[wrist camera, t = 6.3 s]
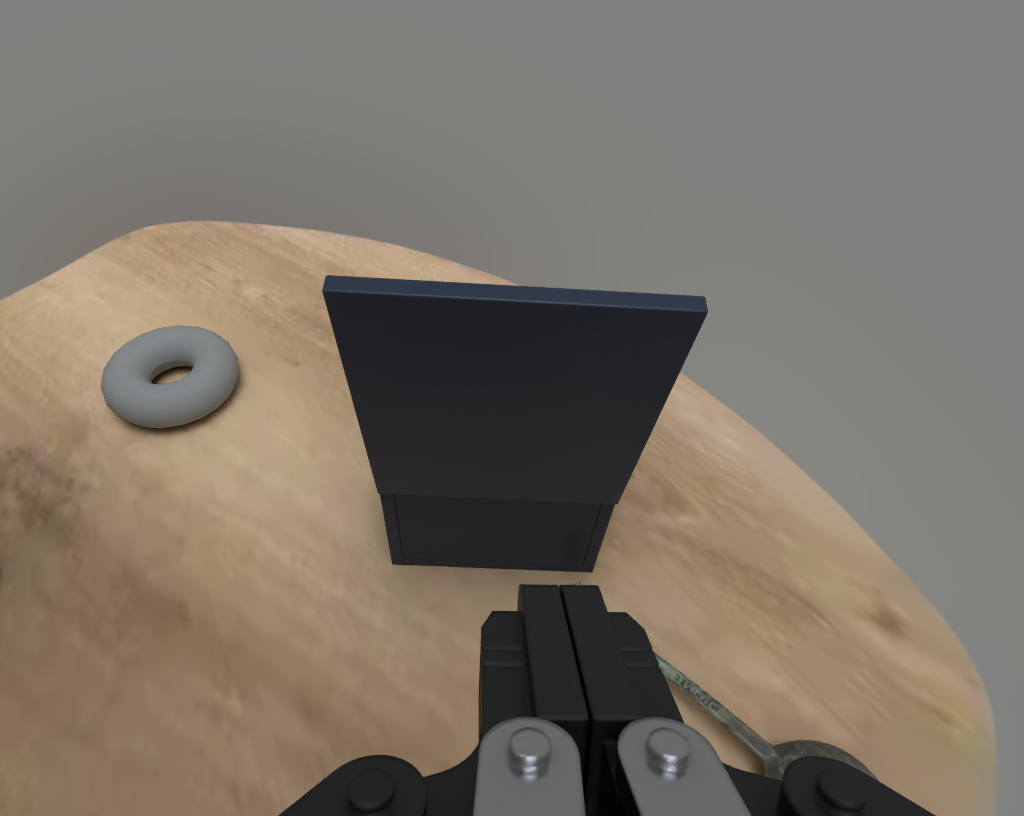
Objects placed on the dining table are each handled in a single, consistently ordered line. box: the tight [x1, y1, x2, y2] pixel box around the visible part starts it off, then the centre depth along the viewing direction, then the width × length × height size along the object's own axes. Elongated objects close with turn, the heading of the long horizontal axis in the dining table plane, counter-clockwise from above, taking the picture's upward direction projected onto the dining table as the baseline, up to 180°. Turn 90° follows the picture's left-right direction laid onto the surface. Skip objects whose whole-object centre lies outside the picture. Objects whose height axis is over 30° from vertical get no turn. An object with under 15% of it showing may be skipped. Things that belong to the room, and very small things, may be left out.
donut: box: [101, 326, 239, 428], centre depth 51 cm, size 10×4×10 cm
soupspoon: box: [575, 582, 878, 781], centre depth 37 cm, size 22×3×7 cm
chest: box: [380, 494, 615, 572], centre depth 45 cm, size 16×14×9 cm
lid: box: [322, 275, 708, 504], centre depth 29 cm, size 16×14×1 cm
